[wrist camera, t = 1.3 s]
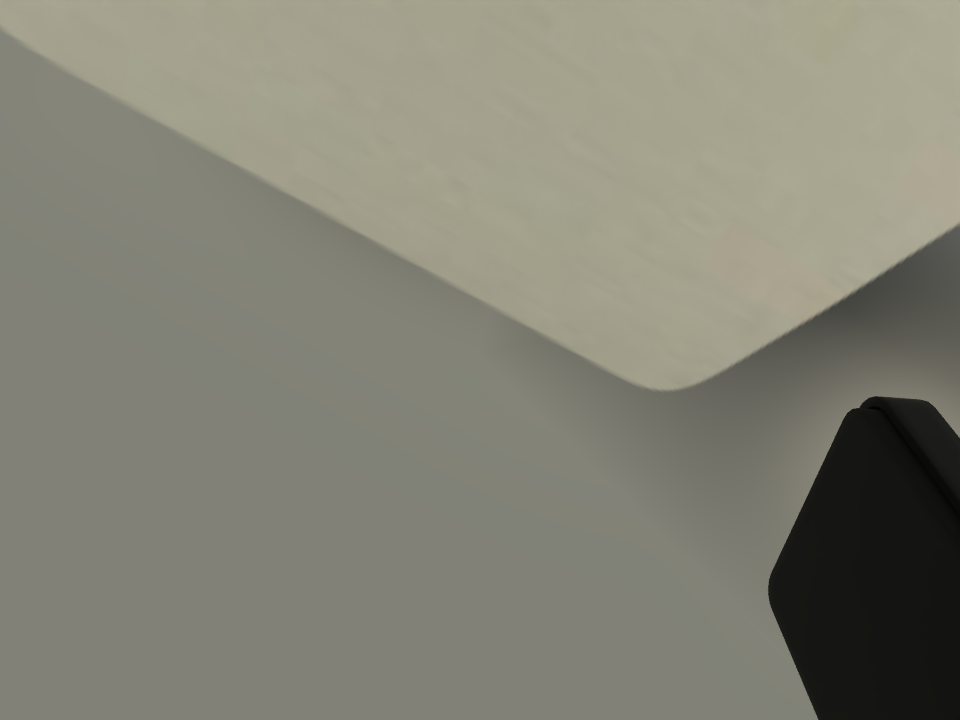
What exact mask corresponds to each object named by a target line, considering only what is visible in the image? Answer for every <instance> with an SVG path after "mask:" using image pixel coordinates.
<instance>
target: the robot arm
mask: <svg viewBox="0 0 960 720" xmlns="http://www.w3.org/2000/svg"><path fill="white" fill-rule="evenodd" d="M768 592H769V593H768V595H769V601H770V605H771V608H772V611H773V613H774V616H775V618H776V620H777V623H778V625H779V627H780V630H781V632H782V634H783V637H784V639H785V642H786V644H787V646H788V649H789V651H790V653H791V656H792V658H793V661H794V663H795V665H796V668H797V670H798V672H799V675H800V677H801V679H802V682H803V684H804V687H805V689H806V691H807V694H808V696H809V698H810V701H811V703H812V705H813V707H814V710H815V712H816V715H817V717H818V720H960V438H959V437H958V435H957V434H956V433H955V432H954V430H953V429H952V428H951V427H950V425H949V424H948V423H947V422H946V421H945V419H944V418H943V417H942V416H941V414H940V413H939V412H938V411H937V409H936V408H935V407H934V406H933V405H931V404H930V403H929V402H927V401H924V400H917V399H905V398H891V397H878V396H875V397H871V398H868V399H867V400H866V401H865V402H863V403H862V405H861V406H860V408H856V409H852V410H851V411H849V412H848V413H847V414H846V416H845V418H844V419H843V421H842V424H841V426H840V428H839V430H838V432H837V434H836V436H835V439H834V441H833V443H832V445H831V447H830V449H829V451H828V453H827V455H826V458H825V460H824V462H823V464H822V466H821V468H820V470H819V472H818V475H817V477H816V479H815V481H814V483H813V485H812V487H811V490H810V492H809V494H808V496H807V498H806V500H805V502H804V504H803V507H802V509H801V511H800V513H799V515H798V517H797V519H796V521H795V524H794V526H793V528H792V530H791V532H790V534H789V536H788V539H787V541H786V543H785V545H784V547H783V549H782V551H781V553H780V556H779V558H778V560H777V562H776V564H775V566H774V569H773V570H772V573H771V576H770V579H769V586H768Z"/></svg>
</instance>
